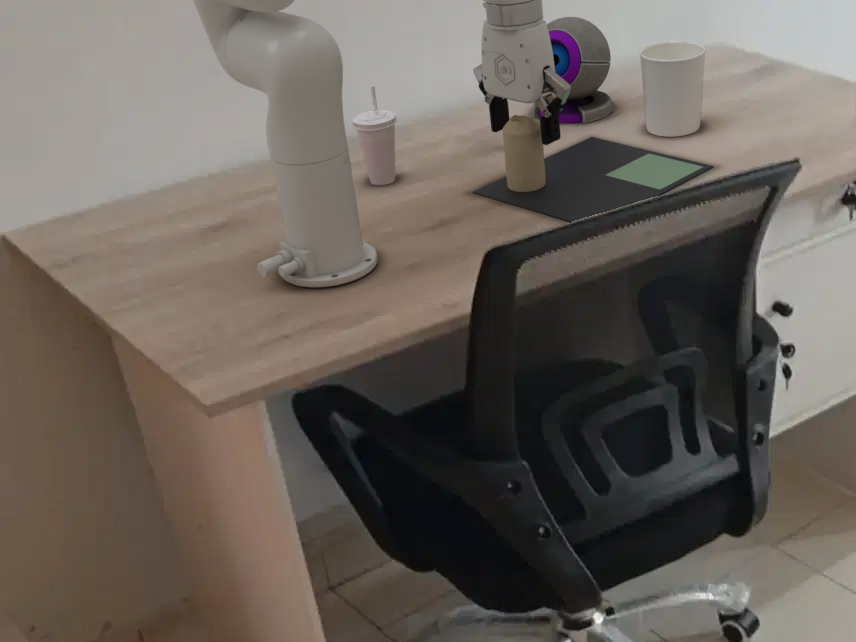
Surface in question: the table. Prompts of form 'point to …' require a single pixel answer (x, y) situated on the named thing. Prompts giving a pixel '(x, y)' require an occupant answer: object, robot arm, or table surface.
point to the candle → (524, 154)
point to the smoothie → (377, 142)
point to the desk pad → (597, 179)
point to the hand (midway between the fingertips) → (525, 135)
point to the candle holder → (672, 87)
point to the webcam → (580, 69)
